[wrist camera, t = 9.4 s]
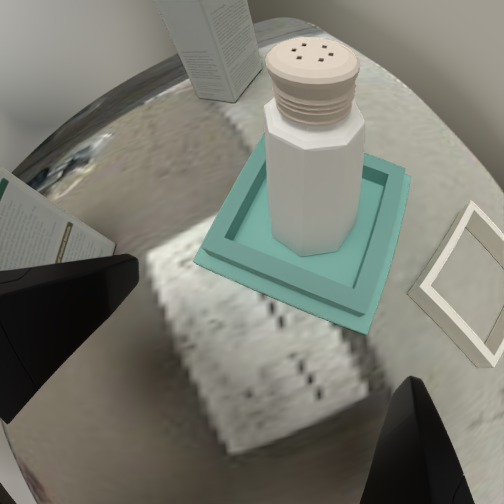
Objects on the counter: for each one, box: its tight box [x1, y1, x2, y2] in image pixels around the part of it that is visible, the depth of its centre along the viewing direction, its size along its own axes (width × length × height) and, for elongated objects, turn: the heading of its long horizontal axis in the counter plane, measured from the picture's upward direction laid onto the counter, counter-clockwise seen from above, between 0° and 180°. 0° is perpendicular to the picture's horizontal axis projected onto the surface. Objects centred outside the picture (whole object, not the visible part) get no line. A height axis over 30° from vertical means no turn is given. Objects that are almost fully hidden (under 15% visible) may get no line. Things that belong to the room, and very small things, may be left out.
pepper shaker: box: [264, 37, 365, 257], centre depth 11 cm, size 5×5×11 cm
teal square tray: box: [193, 132, 411, 335], centre depth 16 cm, size 11×11×2 cm
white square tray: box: [407, 200, 504, 368], centre depth 13 cm, size 8×8×2 cm
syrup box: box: [0, 166, 115, 271], centre depth 12 cm, size 6×6×14 cm
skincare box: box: [154, 0, 262, 103], centre depth 18 cm, size 6×4×12 cm
